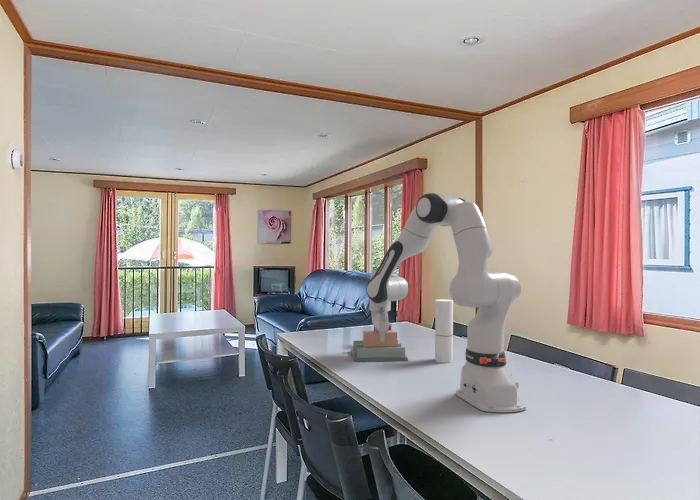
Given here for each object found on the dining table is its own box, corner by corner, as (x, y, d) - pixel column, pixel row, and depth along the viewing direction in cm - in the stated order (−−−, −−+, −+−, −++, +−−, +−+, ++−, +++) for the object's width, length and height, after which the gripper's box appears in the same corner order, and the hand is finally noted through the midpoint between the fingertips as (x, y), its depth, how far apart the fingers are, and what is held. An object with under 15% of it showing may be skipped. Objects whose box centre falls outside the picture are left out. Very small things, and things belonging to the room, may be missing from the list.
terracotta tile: (397, 356, 179) (397, 332, 179) (363, 356, 178) (364, 332, 177) (395, 353, 183) (395, 330, 183) (362, 354, 182) (362, 330, 181)
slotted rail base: (407, 360, 176) (408, 348, 176) (354, 361, 174) (355, 349, 174) (399, 350, 193) (399, 339, 193) (350, 351, 191) (350, 340, 191)
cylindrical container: (451, 358, 181) (451, 299, 180) (453, 363, 174) (454, 301, 173) (434, 358, 181) (434, 299, 181) (435, 362, 174) (436, 301, 174)
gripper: (392, 309, 170) (392, 344, 170) (383, 303, 191) (382, 334, 191) (376, 309, 170) (376, 344, 170) (369, 303, 190) (368, 334, 190)
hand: (379, 339), depth 180 cm, fingers open, 8 cm apart
